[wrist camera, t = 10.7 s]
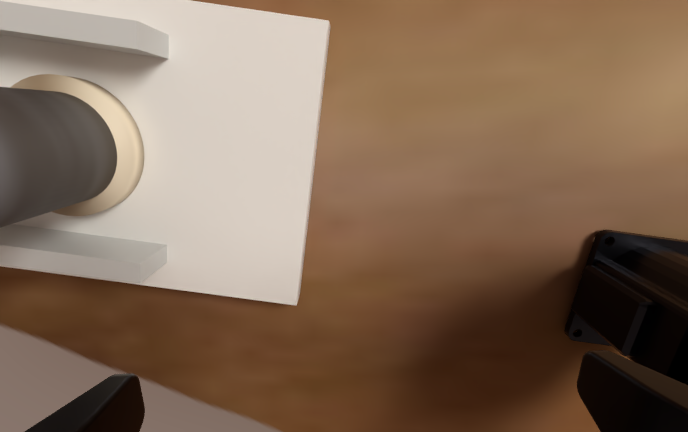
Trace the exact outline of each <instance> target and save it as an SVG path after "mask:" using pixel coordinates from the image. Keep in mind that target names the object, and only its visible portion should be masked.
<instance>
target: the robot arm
mask: <svg viewBox="0 0 688 432" xmlns="http://www.w3.org/2000/svg"><path fill="white" fill-rule="evenodd" d="M608 237H610V238H609V241H608V242H606V243H605V240H606V238H608ZM576 329H578V330H577V332H575V333H573V332H574V330H576ZM565 334H566V335H567V336H568V337H569V338H570V339H571V340H574V341H580V342H588V343H595V344H603V345H610V346H613V347H614V348H615V349H616V350H617V351H619V352H620V353H621V354H622V355H624V356H627V357H628V358H629V359H630V360H628V359H626V358H624V357H621V356H619V355H617V354H615V353H612V352H610V351H606V350H599V351H588V352H586V353H585V354H584V355H583V358H582V363H581V367H580V372H579V376H578V380H577V389H578V393H579V395H580V397H581V399H582V401H583V402H584V404H585V406H586V408H587V409H588V411H589V413H590V414H591V416H592V418H593V419H594V421H595V423H596V425H597V426H598V428H599V430H600V431H601V432H688V241H685V240H678V239H671V238H664V237H656V236H649V235H642V234H635V233H627V232H620V231H613V230H603V231H600V232H599V233H598V234H597V235H596V237H595V240H594V243H593V246H592V249H591V252H590V255H589V258H588V261H587V264H586V267H585V269H584V271H583V274H582V277H581V280H580V283H579V286H578V289H577V292H576V295H575V298H574V301H573V304H572V307H571V311H570V314H569V317H568V320H567V323H566V326H565ZM144 413H145V408H144V402H143V397H142V392H141V387H140V382H139V378H138V377H137V375H135V374H116V375H112V376H110V377H108V378H107V379H105V380H104V381H102V382H101V383H99V384H98V385H96V386H95V387H93V388H91V389H90V390H89V391H87V392H85V393H84V394H82V395H81V396H79V397H77V398H76V399H74V400H73V401H71V402H70V403H68V404H67V405H65V406H64V407H62V408H60V409H59V410H57V411H56V412H55V413H53V414H51V415H50V416H48V417H47V418H45V419H44V420H42V421H40V422H39V423H37V424H36V425H34V426H33V427H31V428H30V429H28V430H27V431H25V432H139V431H140V428H141V425H142V423H143V419H144Z"/></svg>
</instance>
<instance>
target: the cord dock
mask: <svg viewBox="0 0 688 432" xmlns="http://www.w3.org/2000/svg"><path fill="white" fill-rule="evenodd" d="M329 35H330V23H329V21H327V20H320V19H314V18H307V17H300V16H293V15H286V14H279V13H273V12H266V11H259V10H252V9H245V8H238V7H231V6H225V5H218V4H211V3H204V2H197V1H190V0H0V87H9V88H10V87H11V86H13V85H14V84H15V83H17V82H19V81H20V80H22V79H25V78H28V77H30V76H35V75H41V74H54V75H63V76H70V77H76V78H81V79H85V80H88V81H91V82H93V83H95V84H97V85H99V86H101V87H103V88H104V89H106V90H108V91H109V92H110V93H112V94H113V95H114V96H115V97H116V98H118V99H119V100H120V101H121V103H122V104H123V105H124V106H125V107H126V108H127V110H128V111H129V112H130V114H131V115H132V117H133V119H134V120H135V122H136V124H137V126H138V128H139V131H140V134H141V137H142V141H143V146H144V167H143V172H142V175H141V178H140V181H139V183H138V185H137V186H136V188H135V189H134V191H133V192H132V193H131V195H129V196H128V197H127V198H126V199H125V200H124V201H122V202H121V203H120V204H118V205H116V206H114V207H111V208H109V209H106V210H103V211H101V212H98V213H95V214H92V215H86V216H66V215H61V214H57V213H54V212H48V213H45V214H42V215H39V216H36V217H32V218H29V219H26V220H23V221H20V222H17V223H14V224H10V225H7V226H4V227H1V228H0V266H2V267H9V268H17V269H24V270H32V271H39V272H47V273H55V274H62V275H70V276H77V277H85V278H92V279H100V280H107V281H115V282H123V283H130V284H138V285H145V286H153V287H160V288H168V289H175V290H183V291H191V292H198V293H206V294H213V295H221V296H228V297H236V298H244V299H251V300H259V301H266V302H274V303H281V304H289V305H296V306H297V302H298V299H299V295H300V287H301V279H302V270H303V261H304V253H305V244H306V235H307V226H308V218H309V209H310V200H311V192H312V183H313V174H314V166H315V157H316V148H317V139H318V131H319V122H320V113H321V105H322V96H323V87H324V79H325V70H326V61H327V52H328V44H329Z"/></svg>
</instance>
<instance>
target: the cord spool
mask: <svg viewBox="0 0 688 432" xmlns="http://www.w3.org/2000/svg"><path fill="white" fill-rule="evenodd" d="M143 167H144V146H143V141H142V137H141V134H140V131H139V128H138V126H137V124H136V122H135V120H134V119H133V117H132V115H131V114H130V112H129V111H128V110H127V108H126V107H125V106H124V105H123V104H122V103H121V101H120V100H119V99H118V98H116V97H115V96H114V95H113V94H112V93H110V92H109V91H108V90H106V89H104V88H103V87H101V86H99V85H97V84H95V83H93V82H91V81H88V80H85V79H81V78H76V77H70V76H63V75H54V74H41V75H35V76H30V77H28V78H25V79H22V80H20V81H19V82H17V83H15V84H14V85H13V86H11V87H10V88H9V87H0V228H1V227H4V226H7V225H10V224H14V223H17V222H20V221H23V220H26V219H29V218H32V217H36V216H39V215H42V214H45V213H48V212H54V213H57V214H61V215H66V216H86V215H92V214H95V213H98V212H101V211H103V210H106V209H109V208H111V207H114V206H116V205H118V204H120V203H121V202H122V201H124V200H125V199H126V198H127V197H128V196H129V195H131V193H132V192H133V191H134V189H135V188H136V186H137V185H138V183H139V181H140V178H141V175H142V172H143Z"/></svg>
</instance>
